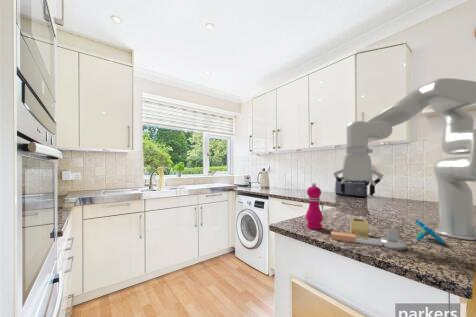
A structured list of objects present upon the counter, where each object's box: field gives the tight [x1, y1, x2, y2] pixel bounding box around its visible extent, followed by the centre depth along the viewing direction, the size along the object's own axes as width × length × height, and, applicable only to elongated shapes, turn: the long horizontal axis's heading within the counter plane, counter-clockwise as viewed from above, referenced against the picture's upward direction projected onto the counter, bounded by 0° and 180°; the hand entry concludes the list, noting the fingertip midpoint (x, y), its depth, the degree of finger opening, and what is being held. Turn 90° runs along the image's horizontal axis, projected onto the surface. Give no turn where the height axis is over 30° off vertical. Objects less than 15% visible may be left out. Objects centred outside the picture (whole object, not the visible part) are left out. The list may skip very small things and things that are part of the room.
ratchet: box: [330, 228, 406, 251], centre depth 72 cm, size 22×7×6 cm, turn 65°
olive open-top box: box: [349, 217, 370, 238], centre depth 80 cm, size 6×6×6 cm
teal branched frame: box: [414, 219, 445, 244], centre depth 75 cm, size 11×6×10 cm
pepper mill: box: [305, 182, 324, 231], centre depth 90 cm, size 7×7×20 cm
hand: (357, 194), depth 81 cm, fingers open, 9 cm apart
